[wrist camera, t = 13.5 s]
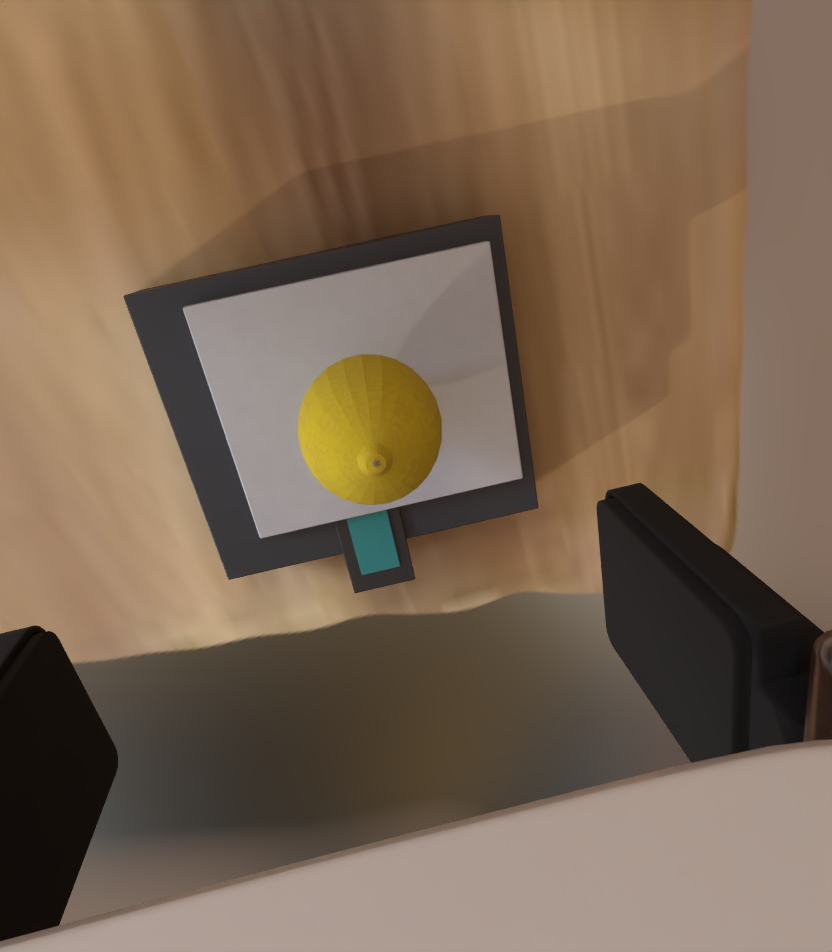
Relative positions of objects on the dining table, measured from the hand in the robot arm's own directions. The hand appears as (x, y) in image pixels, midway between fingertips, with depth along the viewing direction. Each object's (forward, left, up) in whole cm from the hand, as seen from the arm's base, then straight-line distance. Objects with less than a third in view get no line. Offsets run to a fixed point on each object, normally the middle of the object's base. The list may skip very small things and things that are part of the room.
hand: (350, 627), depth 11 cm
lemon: (+1, -1, -18) cm, 18 cm away
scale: (0, -3, -21) cm, 21 cm away
